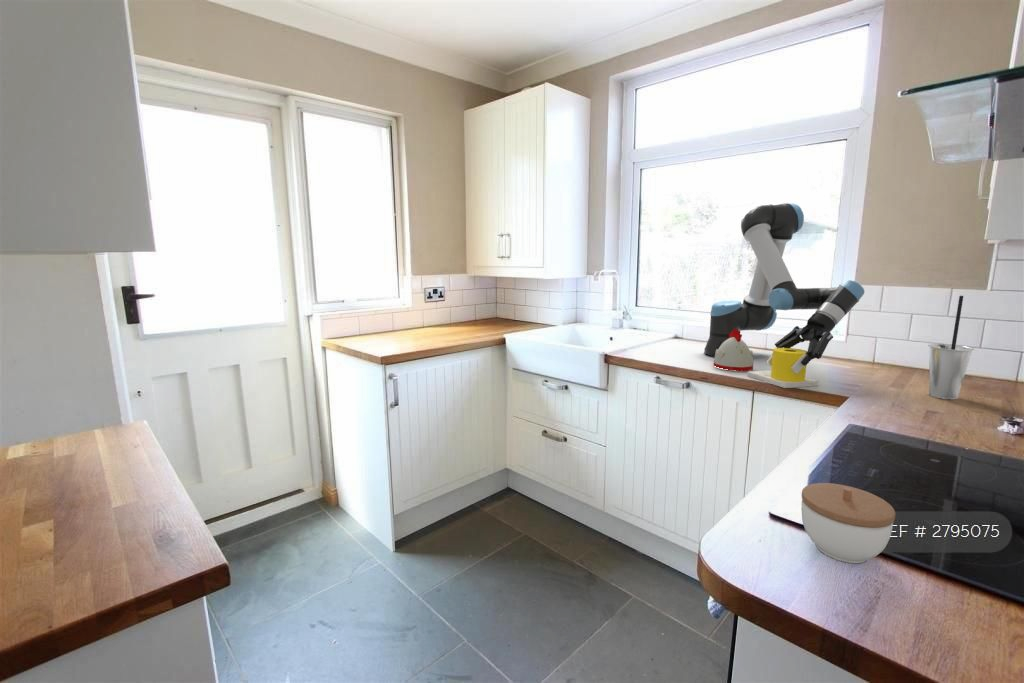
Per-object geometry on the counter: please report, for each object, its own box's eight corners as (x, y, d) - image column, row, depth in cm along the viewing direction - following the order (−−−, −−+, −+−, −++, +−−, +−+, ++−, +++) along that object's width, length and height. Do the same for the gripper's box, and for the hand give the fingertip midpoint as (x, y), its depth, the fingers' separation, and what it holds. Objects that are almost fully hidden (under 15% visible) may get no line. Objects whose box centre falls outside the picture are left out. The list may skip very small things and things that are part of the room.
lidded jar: (788, 524, 74) (794, 468, 72) (868, 535, 71) (876, 477, 69) (809, 566, 64) (816, 502, 62) (904, 581, 61) (914, 514, 59)
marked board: (747, 375, 168) (747, 371, 168) (778, 373, 171) (778, 369, 171) (784, 388, 152) (784, 383, 152) (817, 385, 155) (818, 380, 154)
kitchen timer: (723, 371, 175) (726, 332, 173) (707, 363, 189) (709, 326, 186) (760, 371, 176) (763, 331, 173) (741, 363, 189) (744, 326, 187)
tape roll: (809, 382, 153) (812, 354, 151) (775, 380, 155) (778, 352, 153) (798, 375, 162) (801, 348, 161) (767, 373, 164) (769, 347, 163)
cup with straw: (947, 391, 147) (961, 295, 141) (978, 402, 135) (996, 298, 130) (909, 390, 148) (923, 295, 143) (938, 401, 137) (953, 298, 131)
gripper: (861, 331, 148) (815, 382, 147) (803, 322, 170) (762, 367, 169) (850, 315, 146) (802, 367, 145) (792, 308, 168) (750, 353, 167)
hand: (781, 367), depth 157 cm, fingers closed on tape roll, 10 cm apart
